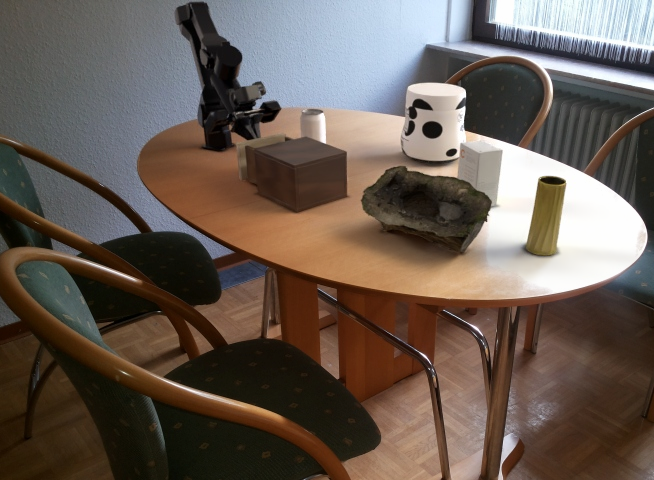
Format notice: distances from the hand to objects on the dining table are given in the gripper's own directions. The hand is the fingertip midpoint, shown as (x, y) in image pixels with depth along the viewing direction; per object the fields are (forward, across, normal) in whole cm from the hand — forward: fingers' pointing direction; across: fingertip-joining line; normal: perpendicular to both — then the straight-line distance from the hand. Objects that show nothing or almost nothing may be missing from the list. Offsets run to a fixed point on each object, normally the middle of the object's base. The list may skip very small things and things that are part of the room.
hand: (260, 147), depth 154 cm
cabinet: (+16, 0, -6) cm, 17 cm away
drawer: (+8, 0, +1) cm, 8 cm away
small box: (+37, +28, -26) cm, 53 cm away
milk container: (+17, +44, -6) cm, 47 cm away
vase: (+54, +18, -43) cm, 72 cm away
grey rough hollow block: (+42, +4, -30) cm, 52 cm away
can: (+3, +19, +8) cm, 21 cm away
